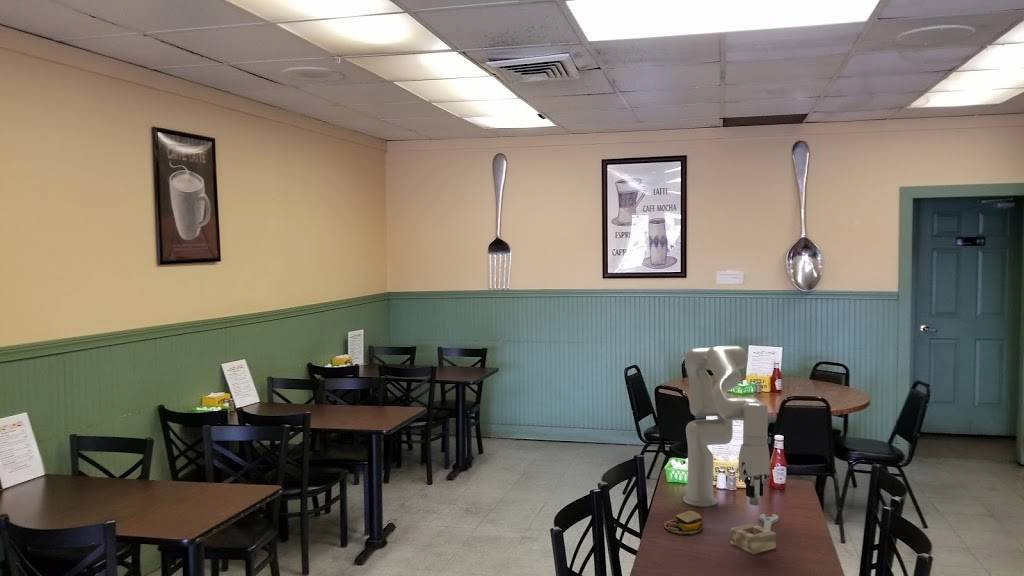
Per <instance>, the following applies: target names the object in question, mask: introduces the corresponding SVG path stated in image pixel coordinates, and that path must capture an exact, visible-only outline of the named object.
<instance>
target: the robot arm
mask: <svg viewBox="0 0 1024 576" xmlns="http://www.w3.org/2000/svg"><path fill="white" fill-rule="evenodd" d="M748 361H749V360H748V355H747V352H746V350H745V349H744V348H743V347H742V346H740V345H715V346H712V347H711V346H710V347H709V346H707V347H704V346H703V347H694V348H690V349H689V350H687V351H686V353H685V357H684V366H685V370H686V374H687V377H688V383H689V385H688V395H689V396H688V397H689V399H688V403H689V410H690V413H691V415H693V416H696V417H717V419H715V418H714V419H694V420H691V421H690V422H688V423H687V425H686V427H685V434H686V435H685V436H686V441H687V484H685V485H684V486H683V487H682V489H681V491H683V492H685V495H684V496H683V497H682V499H683V502H684V503H686V504H687V505H690V506H695V507H713V506H715V505H717V503H718V499H717V498H716V497H715V496H714V455H713V453H712V451H711V450H710V449H709V448H708V446H712V445H713V446H716V445H727V444H729V443H730V442H731V441H732V440H733V435H734V434H733V433H734V432H733V431H734V430H733V421H742V424H743V425H742V427H743V428H742V443H741V445H740V448H739V454H738V455H739V456H738V462H737V463H738V464H737V466H738V468H737V469H738V470H737V472H738V479H740V480H742V481H743V484H744V485H745V496H746V497H750V498H754V497H755V487H754V486H753V482H754V476H758V475H760V497H763V496H764V484H765V482H766V479H767V477H769V475H771V470H770V468H771V460H770V459H771V458H770V448H769V444H768V439H769V436H768V427H769V426H768V422H769V421H768V415H769V414H768V413H769V412H768V411H769V410H768V405H767V404H766V403H765V402H762V401H761V400H759V399H758V398H757V397H753V396H752V397H750V396H749V397H747V396H746V397H743V396H742V397H740V396H739V397H737V396H736V397H731V396H730V394H729V393H728V391H731V390H732V389H734V388H736V387H737V386H739V384H740V382H741V380H742V374H741V371H740V370H741V369H744V368H745V367H746V366H747V364H748ZM708 371H711V372H712V374H713V376H714V378H715V381H716V383H715V385H714V387H713V380H712V377H711V375H710V374H709V372H708Z"/></svg>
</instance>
